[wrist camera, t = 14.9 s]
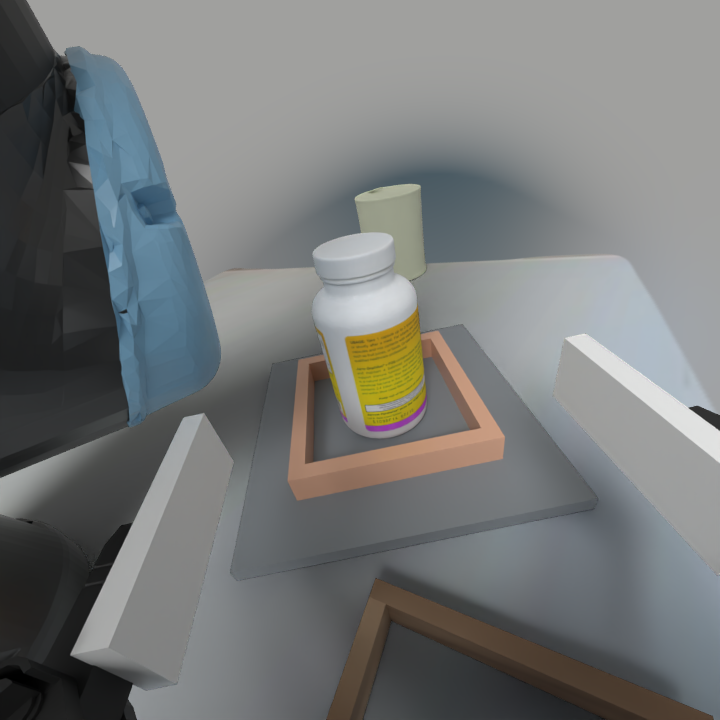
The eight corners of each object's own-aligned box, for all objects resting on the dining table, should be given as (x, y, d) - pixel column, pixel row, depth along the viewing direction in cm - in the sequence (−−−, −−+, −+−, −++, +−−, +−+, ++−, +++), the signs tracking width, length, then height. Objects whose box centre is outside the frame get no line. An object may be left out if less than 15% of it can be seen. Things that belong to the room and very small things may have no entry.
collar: (502, 458, 21) (504, 436, 19) (297, 500, 21) (287, 481, 20) (439, 348, 31) (438, 330, 30) (304, 376, 31) (298, 359, 30)
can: (399, 258, 57) (390, 180, 50) (439, 267, 50) (435, 179, 44) (356, 276, 54) (340, 195, 47) (393, 289, 47) (381, 197, 40)
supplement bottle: (444, 398, 26) (435, 227, 19) (394, 458, 22) (359, 272, 15) (376, 374, 30) (348, 225, 23) (325, 420, 26) (271, 260, 19)
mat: (594, 508, 18) (598, 498, 18) (237, 580, 18) (229, 572, 18) (462, 332, 35) (462, 324, 34) (275, 371, 35) (272, 363, 34)
